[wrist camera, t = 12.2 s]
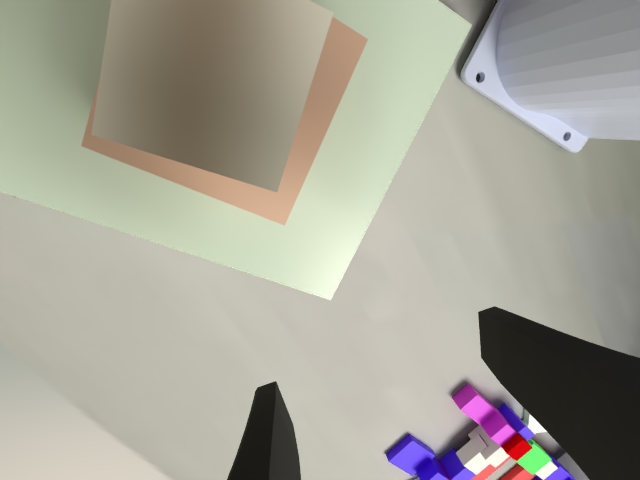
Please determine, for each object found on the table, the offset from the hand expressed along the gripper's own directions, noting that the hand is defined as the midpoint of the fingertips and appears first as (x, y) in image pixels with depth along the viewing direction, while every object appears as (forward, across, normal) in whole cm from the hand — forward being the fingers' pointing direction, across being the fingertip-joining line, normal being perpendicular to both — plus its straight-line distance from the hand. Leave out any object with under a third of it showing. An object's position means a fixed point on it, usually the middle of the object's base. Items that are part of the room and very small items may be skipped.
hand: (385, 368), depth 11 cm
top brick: (+5, +2, -10) cm, 11 cm away
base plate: (+9, +2, -10) cm, 14 cm away
